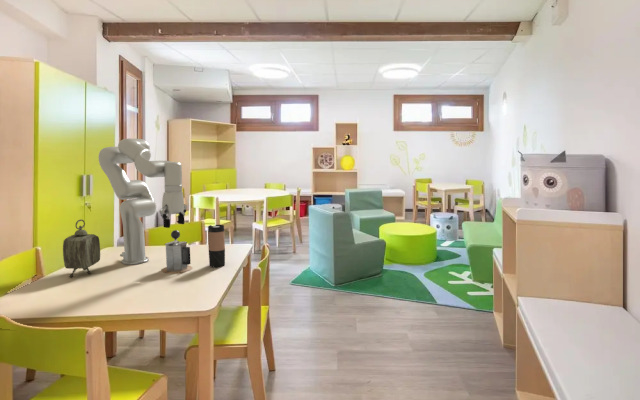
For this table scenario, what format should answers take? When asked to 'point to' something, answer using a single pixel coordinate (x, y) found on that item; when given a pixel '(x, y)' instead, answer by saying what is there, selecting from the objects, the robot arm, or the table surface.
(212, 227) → the travel mug
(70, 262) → the tabletop clock
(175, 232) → the plunger
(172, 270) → the grey slotted housing
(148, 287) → the table surface
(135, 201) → the robot arm
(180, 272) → the disc
